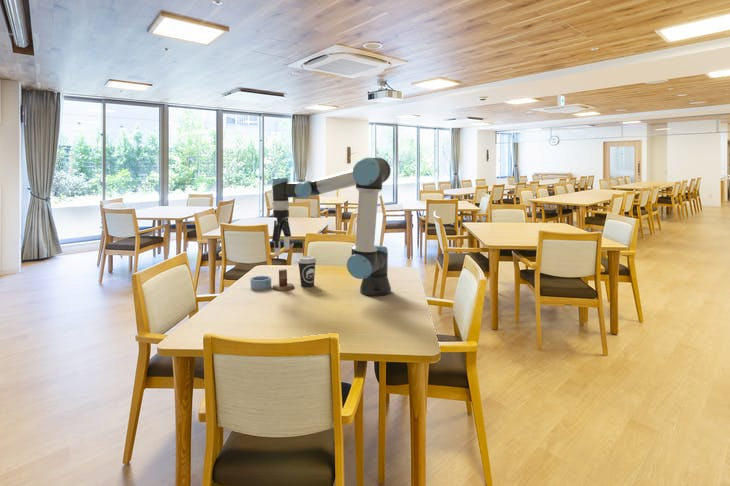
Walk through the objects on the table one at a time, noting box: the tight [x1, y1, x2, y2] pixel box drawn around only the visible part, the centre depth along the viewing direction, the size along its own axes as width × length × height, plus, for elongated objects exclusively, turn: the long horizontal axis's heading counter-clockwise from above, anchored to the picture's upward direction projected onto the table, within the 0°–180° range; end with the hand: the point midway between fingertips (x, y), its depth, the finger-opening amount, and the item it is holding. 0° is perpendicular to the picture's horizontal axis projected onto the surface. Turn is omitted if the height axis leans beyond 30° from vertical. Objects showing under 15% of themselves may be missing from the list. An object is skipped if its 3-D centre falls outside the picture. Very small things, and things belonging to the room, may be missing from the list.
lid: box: [272, 268, 295, 292], centre depth 235 cm, size 10×10×9 cm
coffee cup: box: [297, 255, 317, 288], centre depth 240 cm, size 10×10×15 cm
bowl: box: [249, 275, 272, 291], centre depth 237 cm, size 10×10×5 cm
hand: (282, 251), depth 233 cm, fingers open, 13 cm apart
